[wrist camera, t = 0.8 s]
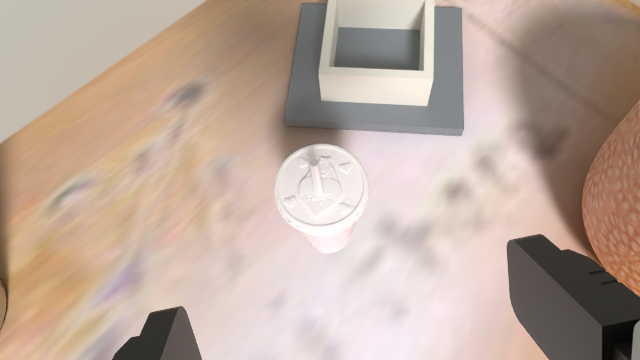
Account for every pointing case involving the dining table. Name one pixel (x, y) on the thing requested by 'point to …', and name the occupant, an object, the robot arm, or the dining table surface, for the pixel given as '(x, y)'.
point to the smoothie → (322, 194)
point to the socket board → (378, 67)
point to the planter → (616, 202)
